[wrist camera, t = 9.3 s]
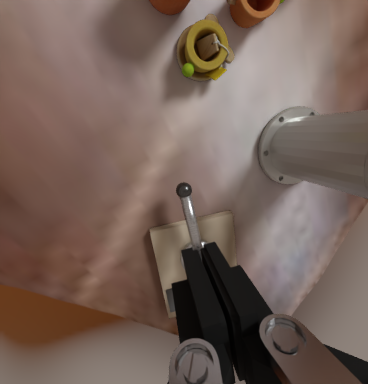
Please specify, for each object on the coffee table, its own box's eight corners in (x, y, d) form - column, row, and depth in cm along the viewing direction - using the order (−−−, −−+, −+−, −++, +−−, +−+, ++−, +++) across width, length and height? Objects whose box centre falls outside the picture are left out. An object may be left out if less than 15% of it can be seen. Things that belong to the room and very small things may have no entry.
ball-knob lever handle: (223, 292, 38) (233, 312, 34) (192, 304, 37) (199, 325, 33) (198, 174, 30) (207, 180, 26) (159, 185, 29) (162, 193, 25)
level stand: (229, 210, 35) (234, 214, 34) (235, 291, 41) (240, 299, 39) (149, 228, 33) (150, 233, 31) (167, 311, 39) (169, 320, 37)
